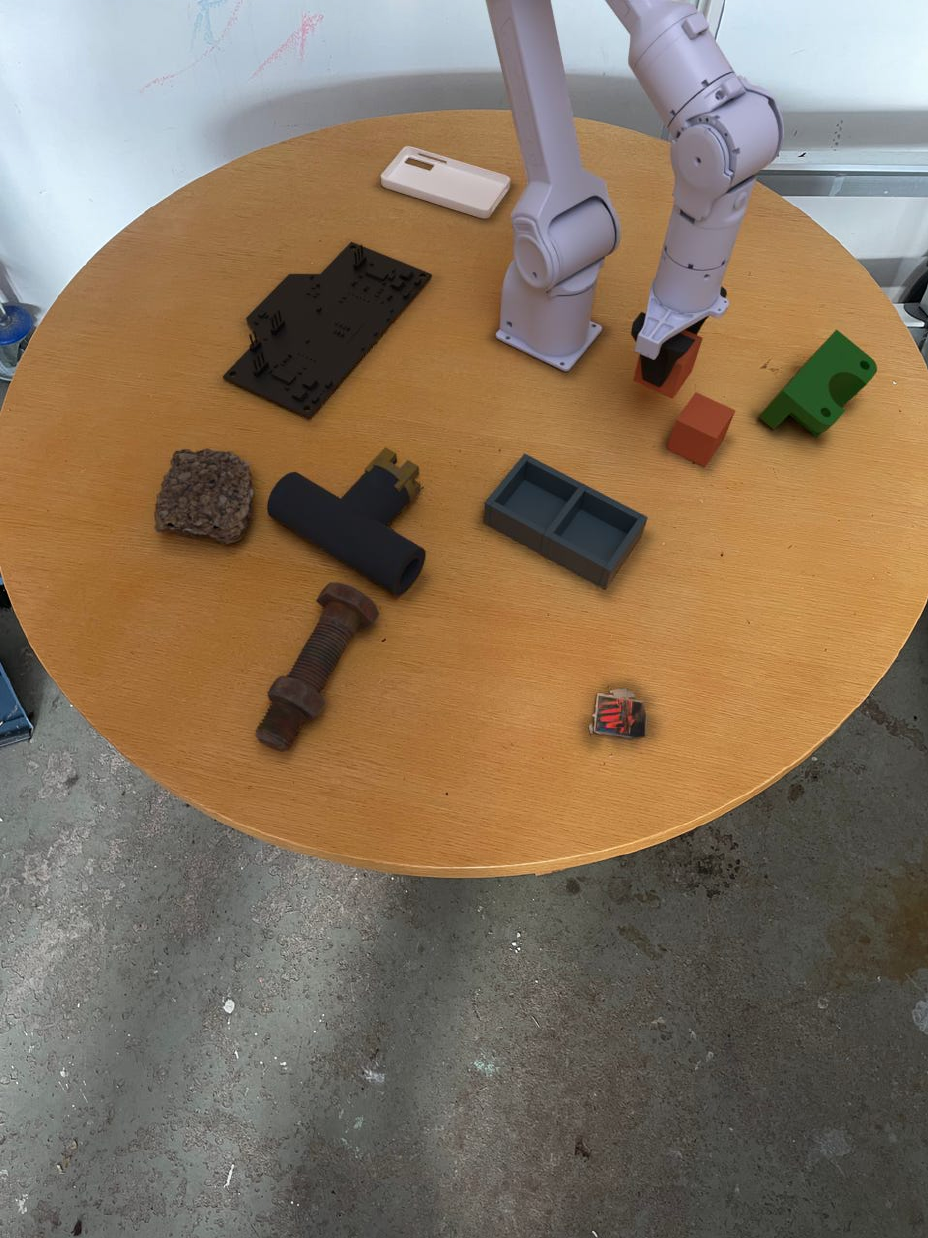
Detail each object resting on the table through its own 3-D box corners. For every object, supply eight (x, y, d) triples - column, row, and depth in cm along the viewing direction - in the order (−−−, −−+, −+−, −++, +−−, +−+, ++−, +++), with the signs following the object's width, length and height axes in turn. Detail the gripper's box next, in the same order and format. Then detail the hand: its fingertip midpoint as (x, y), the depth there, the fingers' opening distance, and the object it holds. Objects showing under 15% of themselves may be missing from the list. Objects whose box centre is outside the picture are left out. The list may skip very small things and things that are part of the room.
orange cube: (632, 380, 86) (641, 346, 82) (652, 353, 88) (661, 319, 84) (672, 399, 85) (682, 365, 81) (692, 371, 87) (703, 337, 83)
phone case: (379, 186, 110) (487, 220, 107) (378, 176, 108) (487, 210, 105) (406, 154, 113) (511, 186, 110) (405, 144, 112) (512, 176, 109)
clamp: (789, 463, 94) (817, 443, 85) (747, 427, 95) (770, 404, 86) (864, 380, 94) (899, 351, 85) (821, 344, 94) (852, 312, 85)
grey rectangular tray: (483, 523, 85) (484, 502, 82) (522, 474, 88) (524, 452, 85) (605, 590, 81) (610, 571, 78) (641, 537, 84) (648, 516, 81)
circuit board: (309, 421, 91) (305, 401, 88) (201, 370, 94) (194, 349, 92) (431, 279, 101) (431, 257, 99) (330, 238, 105) (327, 216, 102)
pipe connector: (340, 417, 84) (465, 489, 80) (346, 451, 89) (466, 521, 85) (261, 496, 80) (390, 576, 76) (273, 528, 85) (395, 605, 81)
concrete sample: (245, 564, 83) (233, 534, 78) (144, 547, 83) (126, 517, 79) (279, 470, 88) (269, 437, 83) (184, 455, 89) (169, 422, 84)
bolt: (271, 755, 75) (350, 614, 81) (310, 766, 72) (389, 619, 78) (228, 722, 71) (314, 577, 77) (267, 733, 68) (354, 580, 74)
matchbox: (650, 737, 74) (651, 735, 74) (591, 743, 74) (592, 741, 74) (639, 687, 77) (640, 685, 76) (582, 693, 76) (583, 691, 76)
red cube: (666, 448, 90) (676, 419, 86) (685, 421, 91) (695, 391, 87) (704, 467, 88) (716, 438, 85) (723, 439, 90) (735, 410, 86)
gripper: (703, 317, 69) (667, 430, 81) (775, 217, 75) (732, 337, 87) (625, 283, 71) (601, 399, 83) (701, 188, 77) (668, 310, 89)
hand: (663, 365), depth 85 cm, fingers closed on orange cube, 4 cm apart
